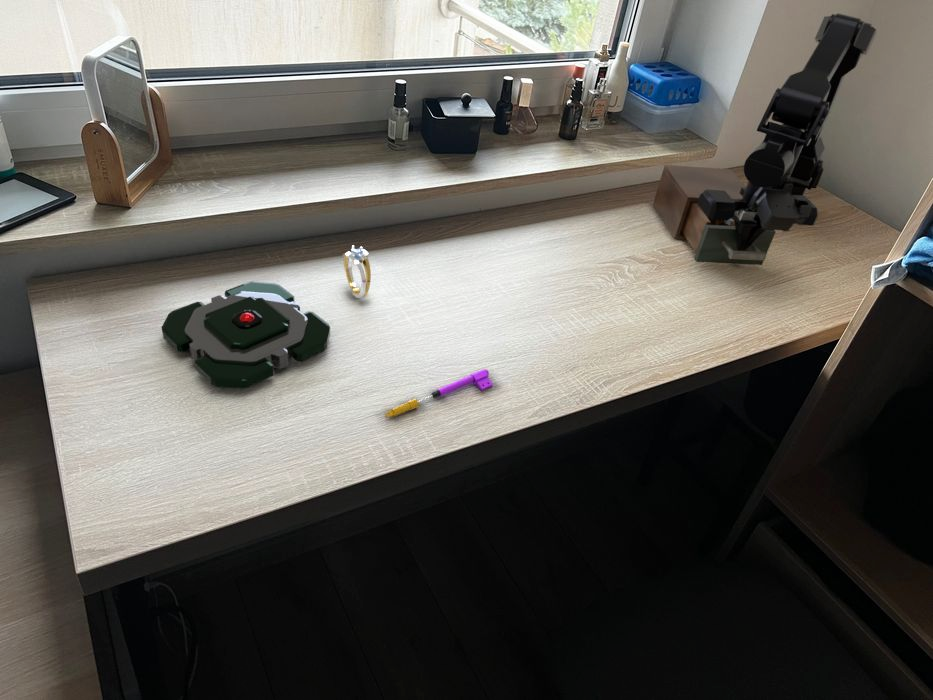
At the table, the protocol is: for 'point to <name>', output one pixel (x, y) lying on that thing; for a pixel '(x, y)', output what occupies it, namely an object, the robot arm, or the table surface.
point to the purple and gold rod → (447, 391)
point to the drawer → (721, 240)
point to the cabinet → (689, 191)
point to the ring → (358, 258)
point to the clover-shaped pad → (246, 334)
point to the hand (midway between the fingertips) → (739, 251)
